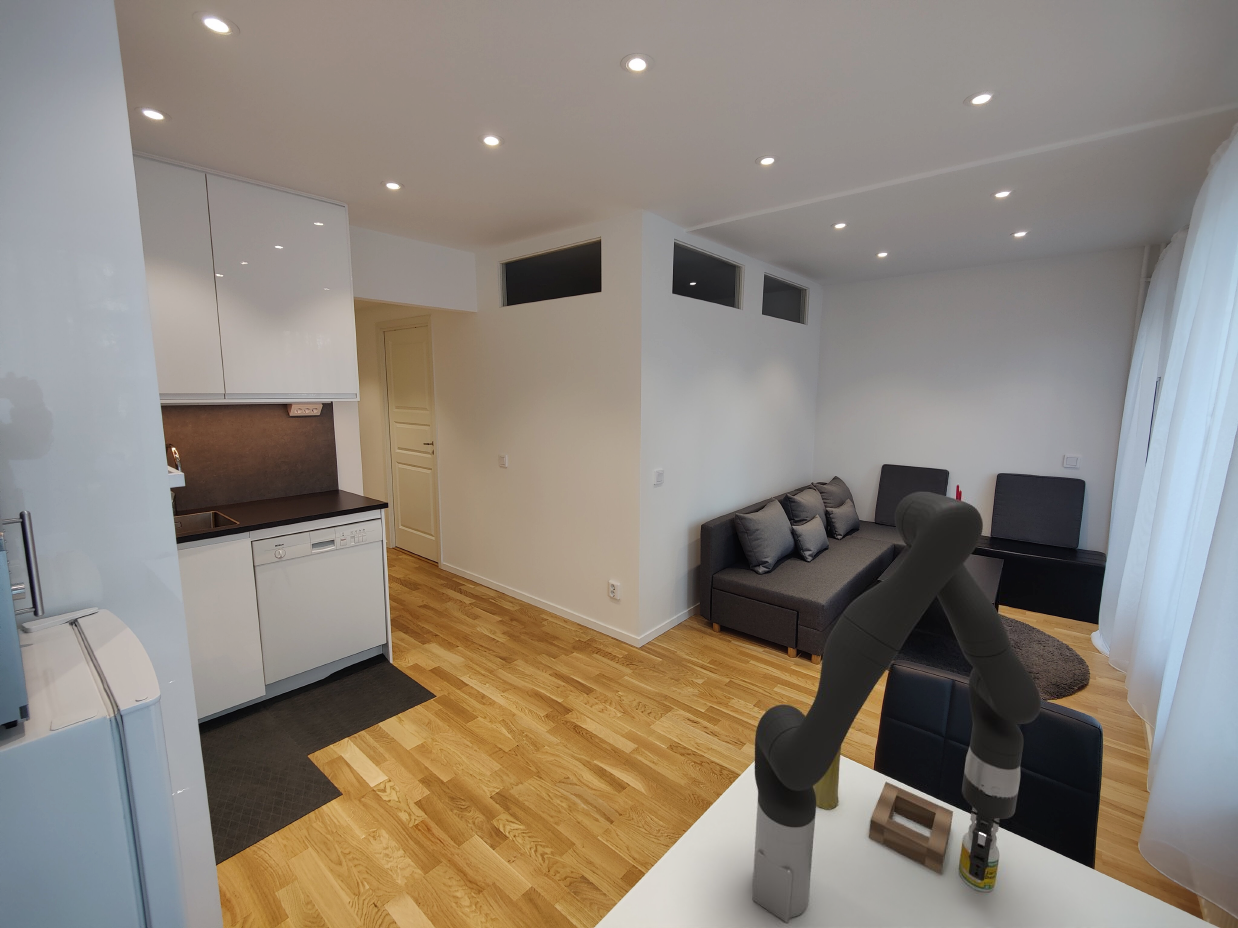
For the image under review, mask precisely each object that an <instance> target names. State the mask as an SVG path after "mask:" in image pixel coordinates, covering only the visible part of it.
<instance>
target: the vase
mask: <svg viewBox="0 0 1238 928" xmlns="http://www.w3.org/2000/svg"><path fill="white" fill-rule="evenodd" d="M841 751H842V746H841V747H840V749H839V751H838V753H837V755H836V757H835V759H834V761H833V762H832V764H831V766H830V768H829V769H828V771H827V772H826V774H825V775H824V776H823V777H822V779H821V780H820V781H819V782H818V783H816V784H815V785H814V786H813V788H814V791H815V795H816V807H818V808H821V809H826V810H832V809H835V808H836V807H837V806H838V805H839V802H840V801H839V784H840V783H839V782H840V765H841V764H840V763H841V754H842V752H841Z"/></svg>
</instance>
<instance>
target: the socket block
mask: <svg viewBox="0 0 1238 928" xmlns="http://www.w3.org/2000/svg"><path fill="white" fill-rule="evenodd" d="M895 813H896V814H897V815H899V816H902V817H904V818H905V819H908V820H910V821H913V822H915V823H916V824H919V825H920V826H922V827H926V828H927V829H929V830H931V831H930V835H929V836H927V835H925V834H923V833H920V832H918V830H914V829H912V828H910V827H909V826H907V825H905V824H902V823H900V822H898V821H896V820H893V817H894V814H895ZM953 813H954V811H952V810H951V809H948V808H946V807H944V806H942V805H939V804H937V803H936V802H935V803H934V802H932V801H931V800H928V799H925V798H924V797H922V796H920V795H917V794H915V793H912V792H910V791H908V790H906V789H904V788H901V787H899V786H897V785H895V784H892V783H890V782H888V781H885V783H884V785H883V787H882V790H881V793H880V795H879V797H878V799H877V803H876V805H875V807H874V810H873V811H872V815H871V816H870V821H869V830H868V838H870V839H872V840H873V841H875V842H877V843H879V844H882V845H883V846H885V847H887V848H889V849H891V850H893V851H895V852H897V853H899V854H900V855H903V856H905V857H907V858H908V859H911V860H912V861H914V862H917V863H919V864H920V865H921V866H925V868H928V869H930V870H932V871H934V872H935V873H938V874H939V875H941V874H942V871H943V870H942V869H943V865H944V861H945V857H946V852H947V847H948V843H949V839H950V834H951V830H952V829H951V828H952V822H953V815H954V814H953Z"/></svg>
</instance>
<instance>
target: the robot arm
mask: <svg viewBox="0 0 1238 928" xmlns="http://www.w3.org/2000/svg"><path fill="white" fill-rule="evenodd" d="M894 524H895V529H896V531H897V532H898V535H899V536H900V538H901V540H902V541H903V543H904V544H905V545H906V548H908V552H907V553H906V555H905V556H904V557H903V559H902V561H901V563H900V564H899V565H898V566H897V568H895V570H894V571H893V572H892V573H891V574H890V575H888V576H887V577H886V578H885V579H884V580H882V581H880V582H879V583H878V584H876V585H874V586H873V587H871V588H870V589H868V590H866V591H864V592H863V593H861V595H858V596H857V597H856V598H855V599H854V600H853V601H852V602H850V603H849V605H848V606H847V607H846V608H845V610H844V611H843V613H842V614H841V616H840V617H839V618H838V620H837V622H836V623H835V625H834V627H833V628H832V630H831V631H830V633H829V635H828V636H827V639H826V642H825V645H824V648H823V655H822V661H821V667H820V675H819V681H818V686H817V687H818V688H817V692H816V695H815V697H814V700H813V702H812V705H811V706H810V708H809V710H808V711H807V714H806V715H805V714H804V713H803V712H802V711H801V710H800V709H798V708H797V707H795V706H792V705H791V704H778V705H775V706H772V707H771V708H768V709H767V710H766V711H765V712H764V713H763V715H762V716H761V717H760V718H759V721H758V723H757V725H756V731H755V737H754V739H755V740H754V780H755V783H756V789H757V807H756V809H757V810H756V821H755V822H756V823H755V836H754V838H755V839H754V853H753V854H754V856H753V875H752V900H753V901H754V902H755V903H756V904H757V905H760V906H761V907H763V908H764V909H765V910H767V911H768V912H770V913H771V914H773V915H775V916H776V917H777V918H779V919H780V920H782V921H783V922H785V923H789V922H790V920H791V918H795V917H798V916H800V915H802V914H803V913H804V912H805V911H806V910H807V907H808V906H809V901H810V899H809V898H810V887H811V876H812V875H811V873H812V862H813V850H814V849H813V848H814V837H815V836H814V835H815V826H816V825H815V824H816V813H817V812H816V811H817V806H816V795H815V791H814V788H813V786H814V785H815V784H816V783H818V782H819V781H820V780H821V779H822V777H823V776H824V775H825V774H826V772H827V771H828V769H829V768H830V766H831V764H832V762H833V761H834V759H835V757H836V755H837V753H838V751H839V749H840V747H841V748H842V744H843V742H845V741H844V740H845V738H846V736H847V734H849V733H848V732H849V730H850V728H851V727H852V725H853V723H854V721H855V719H856V718H857V716H858V714H859V713H860V711H861V709H862V708H863V706H864V705H865V703H866V701H867V699H868V698H869V697H870V695H871V693H872V692H873V690H874V688H875V687H876V686H877V684H878V682H879V681H880V679H881V678H882V677H883V675H884V674H885V673H886V672H887V670H888V668H889V667H890V665H891V664H892V662H893V661H894V660H895V658H896V656H897V655H898V653H899V652H900V650H901V649H902V647H903V645H904V644H905V641H906V640H907V638H908V637H909V635H910V634H911V632H912V631H913V629H914V627H916V625H917V624H918V623H919V621H920V620H921V618H922V617H923V615H924V614H925V612H926V611H927V610H928V608H929V607H930V605H931V604H932V602H933V601H934V600H935V598H937V599H938V601H939V602H940V605H941V606H942V609H943V611H944V613H945V615H946V618H947V619H948V622H949V624H950V626H951V627H950V628H951V629H952V631H953V634H954V636H955V638H956V641H957V643H958V645H959V648H960V650H961V652H962V654H963V655H964V658H965V659H966V660H967V662H968V663H969V664H970V665H971V667H973V668H972V670H971V671H970V674H969V678H968V686H967V688H968V699H969V705H970V706H969V707H970V713H971V719H972V727H971V728H972V729H971V735H970V736H971V737H970V743H969V747H968V751H967V753H966V757H965V764H964V772H963V778H962V786H961V793H962V796H963V798H964V800H965V801H966V802H967V803H968V804H969V805H970V806H971V807H972V810H971V812H970V821H971V823H970V825H971V830H970V836H969V838H970V840H971V841H972V846H971V851H970V853H969V854H970V855H969V858H970V859H969V861H970V866H969V874H970V875H971V876H973V877H975V878H977V879H979V880H981V881H984V878H985V872H986V869H987V867H988V866H989V864H988V863H989V859H988V858H989V852H990V850H993V849H994V843H995V836H996V837H997V833H998V832H999V829H1000V828H999V826H1000V820H1001V819H1002V820H1003V819H1009V818H1012V817H1013V816H1014V814H1015V813H1016V807H1017V802H1018V795H1019V787H1020V783H1021V782H1020V781H1021V763H1022V756H1023V750H1024V742H1025V741H1024V735H1023V733H1022V731H1021V729H1020V727H1019V726H1018V725H1024V724H1026V725H1027V724H1029V723H1032V722H1033V721H1034V720H1035V719H1036V718H1038V716H1039V715H1040V712H1041V708H1042V699H1041V694H1040V691H1039V689H1038V686H1037V685H1036V683H1035V681H1034V679H1033V678H1032V677H1031V675H1030V673H1029V671H1028V670H1027V668H1026V667H1025V665H1024V664H1023V662H1022V661H1021V659H1020V658H1019V656H1018V655H1017V654H1016V652H1015V650H1014V649H1013V646H1012V642H1011V639H1010V637H1009V635H1008V632H1007V630H1006V627H1005V625H1004V623H1003V621H1002V618H1001V616H1000V614H999V612H998V611H997V609H996V607H995V606H994V604H993V602H992V601H991V599H989V597H988V596H987V594H986V593H985V591H984V590H983V588H981V587H980V585H979V584H978V583H977V581H976V580H975V578H974V577H973V575H972V574H971V573H970V571H969V570H968V568H967V567H966V565H965V562H966V561H967V560H968V558H969V557H970V556H971V555H972V554H973V552H974V551H975V549H976V547H977V546H978V544H979V543H980V540H981V537H982V534H983V530H984V527H983V526H984V524H983V518H982V516H981V513H980V512H979V510H978V509H977V508H976V507H975V506H973V505H972V504H971V503H968V502H966V501H963V500H960V499H957V498H954V497H951V496H946V495H943V494H939V493H935V492H930V491H916V492H912V493H910V494H908V495H906V496H905V497H903V499H901V500H900V501H899V503H898V505H897V506H896V509H895V512H894ZM1017 724H1018V725H1017ZM975 823H976V826H975ZM991 832H992V836H991Z"/></svg>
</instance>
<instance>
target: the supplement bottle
mask: <svg viewBox="0 0 1238 928" xmlns="http://www.w3.org/2000/svg"><path fill="white" fill-rule="evenodd" d="M975 826H976V822H975ZM967 830H968V831H967V832H965V833H964V835H963V837H962V841H961V849H960V856H959V863H958V864H959V865H958V872H959V875H960V877H961V879H962V880H963V881H964V882H965V883H966V884H967V886H969V887H970V888H973V889H974V890H975V891H976V890H977V891H978V892H986V893H989V892H991V891H993V890H994V888H995V885H996V880H997V874H998V873H997V872H998V868H999V860H1000V851H999V848H998V846H997V839H998V838H997V835H996V836H995V843H994V849H993V850H990V852H989V858H988V859H989V863H988V864H989V866H988V867H987V869H986V872H985V878H984V881H981V880H979V879H977V878H975V877H973V876H971V875H970V874H969V866H970V861H969V859H970V858H969V855H970V854H969V853H970V851H971V846H972V841H971V840H970V838H969V836H970V830H971V824H969V827H968V829H967ZM991 836H992V832H991Z"/></svg>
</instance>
